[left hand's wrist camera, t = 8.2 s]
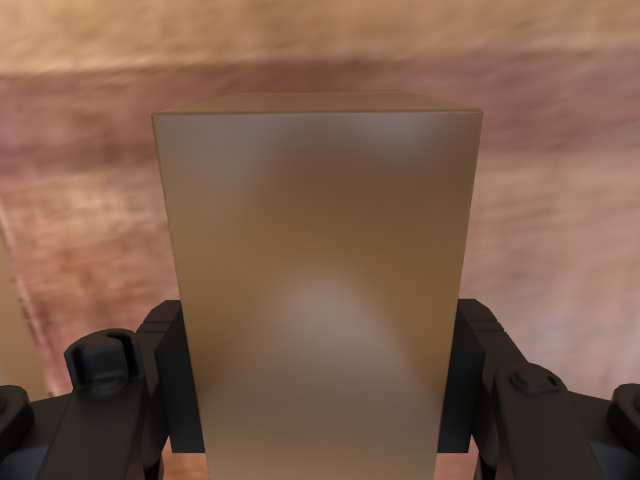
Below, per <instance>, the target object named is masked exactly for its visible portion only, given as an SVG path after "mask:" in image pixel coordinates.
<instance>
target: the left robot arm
mask: <svg viewBox="0 0 640 480" xmlns="http://www.w3.org/2000/svg"><path fill="white" fill-rule="evenodd" d="M63 354H64V357H65V361H66V364H67V368H68V371H69V375H70V378H71V382H72V385H73V390H72V393H69V394H65V395H62V396H57V397H52V398H48V399H43V400H39V401H34V402H30V401H29V397H28V395H27V392H26V391H25V390H24V389H23V388H21V387H19V386H13V385H5V386H0V480H163V475H164V466H163V459H162V454H161V453H162V450H163V448H164V446H165V443H166V441H167V438H168V436H169V437H170V443H171V448H172V453H205V447H204V441H203V435H202V429H201V422H200V416H199V410H198V404H197V398H196V392H195V385H194V379H193V373H192V367H191V361H190V354H189V348H188V342H187V336H186V330H185V323H184V317H183V311H182V305H181V300H165V301H164V302H162V303H161V304H160V305H158V306H157V307H155V308H154V309H152V310H151V311H150V313H149V314H148V315H147V317H146V318H145V320H144V321H143V324H141V325H140V327H139V328H138V329H137V332H136V333H134V332H133V331H131V330H127V329H122V328H119V329H106V330H102V331H97V332H94V333H92V334H89V335H87V336H84V337H82V338H80V339H79V340H77V341H76V342H74V343H73V344H71V345H70V346H69V347H68V349H67V350H66V351H65V352H64V353H63ZM471 434H472V436H473V438H474V440H475V443H476V445H477V447H478V450H479V454H478V459H477V464H476V469H475V474H474V479H473V480H640V384H634V383H630V384H623V385H620V386H619V387H617V388H616V389H615V390H614V393H613V396H612V399H611V401H610V400H605V399H600V398H596V397H591V396H587V395H582V394H578V393H574V392H571V391H568V390H567V387H566V386H565V385H564V383H563V382H562V380H561V379H560V378H559V377H557V376H556V375H555V374H553V373H552V372H551V371H550V370H547V369H545V368H543V367H541V366H539V365H537V364H533V363H529V362H528V361H527V360H526V359H525V357H524V356H523V355H522V353H521V352H520V350H519V349H518V348H517V346H516V345H515V344H514V342H513V341H512V339H511V338H510V337H509V335H508V334H507V333H506V332H504V328H503V327H502V326H501V324H500V323H499V322H497V319H496V317H495V316H494V315H493V313H492V312H491V311H490V309H489V308H487V307H486V306H484V305H483V304H481V303H480V302H478V301H477V300H476V299H458V302H457V310H456V317H455V324H454V332H453V339H452V346H451V354H450V361H449V368H448V376H447V383H446V390H445V398H444V405H443V412H442V420H441V427H440V434H439V442H438V449H437V453H468V450H469V444H470V439H471Z"/></svg>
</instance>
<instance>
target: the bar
mask: <svg viewBox="0 0 640 480" xmlns="http://www.w3.org/2000/svg"><path fill="white" fill-rule="evenodd" d="M151 119H152V125H153V132H154V138H155V144H156V150H157V156H158V163H159V169H160V175H161V181H162V187H163V193H164V200H165V206H166V212H167V218H168V224H169V231H170V237H171V243H172V249H173V255H174V262H175V268H176V274H177V280H178V286H179V293H180V299H181V305H182V311H183V317H184V323H185V330H186V336H187V342H188V348H189V354H190V361H191V367H192V373H193V379H194V385H195V392H196V398H197V404H198V410H199V416H200V422H201V429H202V435H203V441H204V447H205V453H206V460H207V466H208V472H209V478H210V480H433V478H434V471H435V464H436V456H437V449H438V442H439V434H440V427H441V420H442V412H443V405H444V398H445V390H446V383H447V376H448V368H449V361H450V354H451V346H452V339H453V332H454V324H455V317H456V310H457V302H458V295H459V288H460V280H461V273H462V266H463V258H464V251H465V244H466V236H467V229H468V222H469V214H470V207H471V200H472V193H473V185H474V178H475V171H476V163H477V156H478V149H479V141H480V134H481V127H482V119H483V110H482V109H480V108H476V107H471V106H466V105H462V104H457V103H452V102H448V101H443V100H439V99H434V98H429V97H425V96H420V95H415V94H411V93H406V92H402V91H397V90H389V91H297V92H239V93H235V94H230V95H226V96H222V97H217V98H213V99H209V100H204V101H200V102H195V103H191V104H187V105H182V106H178V107H174V108H169V109H165V110H161V111H156V112H153V113H152V114H151Z"/></svg>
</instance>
